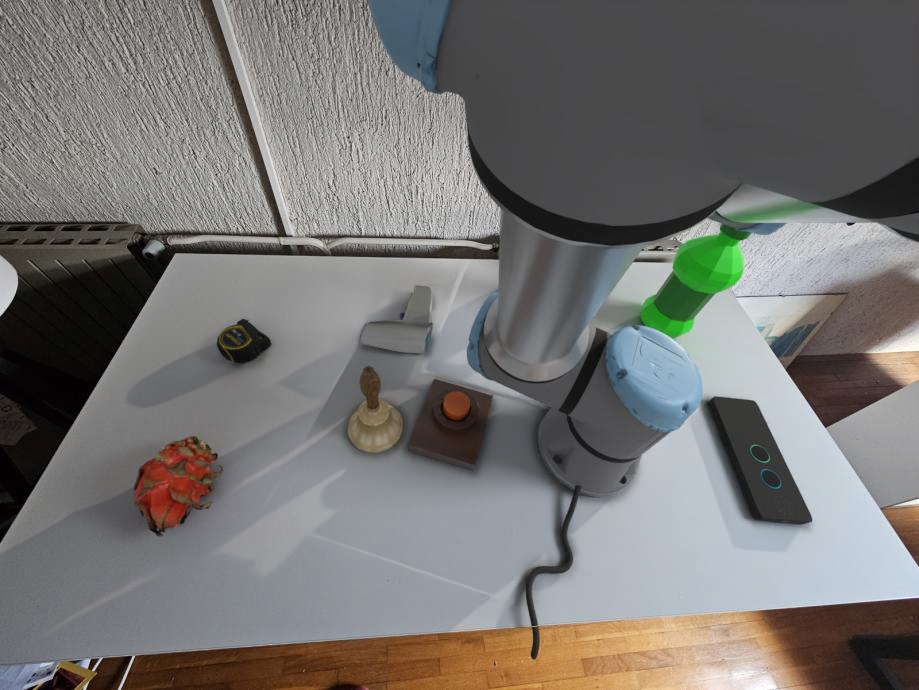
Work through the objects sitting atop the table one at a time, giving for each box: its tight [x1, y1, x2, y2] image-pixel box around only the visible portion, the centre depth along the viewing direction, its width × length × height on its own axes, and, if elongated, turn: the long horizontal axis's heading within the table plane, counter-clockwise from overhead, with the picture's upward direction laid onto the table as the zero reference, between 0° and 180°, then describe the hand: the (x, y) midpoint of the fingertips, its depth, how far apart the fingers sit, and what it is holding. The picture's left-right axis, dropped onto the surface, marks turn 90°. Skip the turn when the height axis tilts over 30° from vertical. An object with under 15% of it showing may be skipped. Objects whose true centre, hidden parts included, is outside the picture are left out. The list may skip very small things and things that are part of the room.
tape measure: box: [216, 318, 272, 364], centre depth 63 cm, size 7×7×4 cm
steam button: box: [443, 392, 470, 421], centre depth 57 cm, size 4×4×2 cm
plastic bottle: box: [639, 223, 752, 340], centre depth 68 cm, size 10×10×25 cm
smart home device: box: [707, 395, 813, 526], centre depth 61 cm, size 8×2×20 cm
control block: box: [408, 378, 494, 471], centre depth 58 cm, size 12×10×4 cm
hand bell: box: [347, 365, 404, 454], centre depth 52 cm, size 8×8×16 cm
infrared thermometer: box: [359, 284, 434, 355], centre depth 70 cm, size 5×12×15 cm
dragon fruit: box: [133, 435, 224, 538], centre depth 47 cm, size 8×8×12 cm
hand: (559, 298), depth 76 cm, fingers closed on switch lever, 5 cm apart
